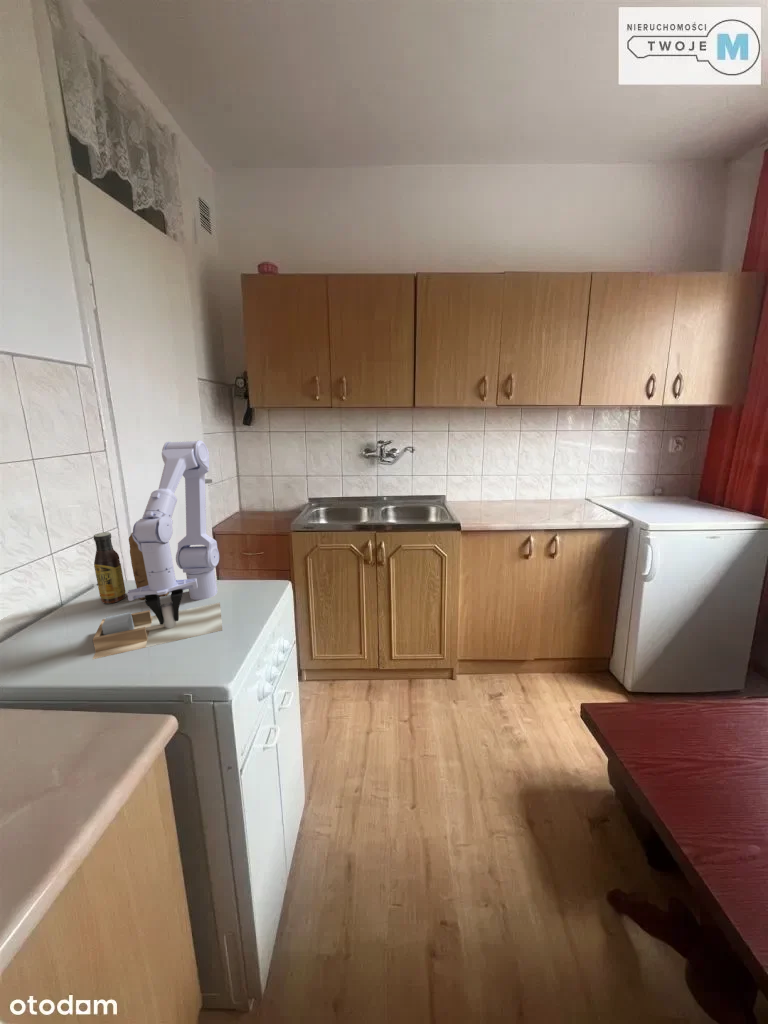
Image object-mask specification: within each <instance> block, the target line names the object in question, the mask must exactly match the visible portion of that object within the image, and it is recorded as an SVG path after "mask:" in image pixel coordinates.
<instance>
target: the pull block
mask: <svg viewBox="0 0 768 1024" xmlns="http://www.w3.org/2000/svg"><path fill="white" fill-rule="evenodd" d="M161 611H162V616H163V622H164V624H160V625H155V626H150V627H145V628H146V631H150V630H154V629H159V628H164V627H165V629H171V628H174V627H175V626H176V625H177V624H176V621H175V618H174V609H173V604H172V602H165V603H164V604H161ZM131 614H132V612H131V611H130V612H124V613H120V614H114V615H109V616H106V617H105V618H104V619H105V621H104V623H103V625H102V630H103V634H104V635H109V634H113V633H118V632H123V631H128V630H133V629H134V624H133V620H132V615H131Z"/></svg>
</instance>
